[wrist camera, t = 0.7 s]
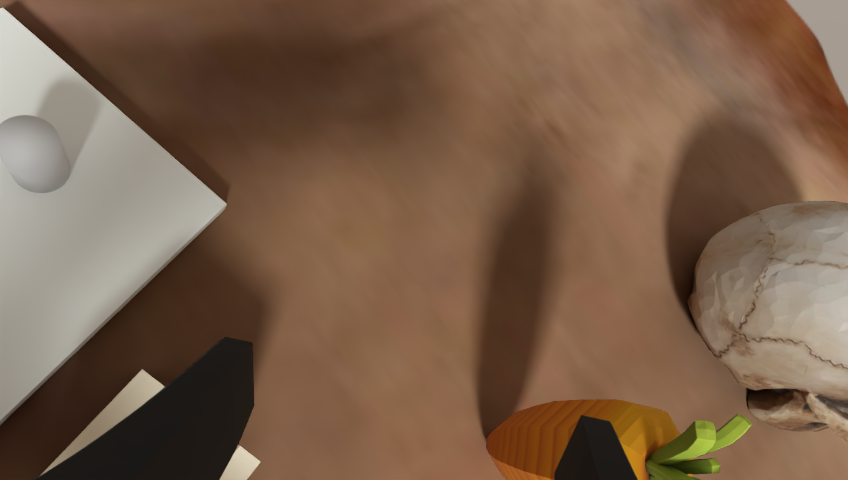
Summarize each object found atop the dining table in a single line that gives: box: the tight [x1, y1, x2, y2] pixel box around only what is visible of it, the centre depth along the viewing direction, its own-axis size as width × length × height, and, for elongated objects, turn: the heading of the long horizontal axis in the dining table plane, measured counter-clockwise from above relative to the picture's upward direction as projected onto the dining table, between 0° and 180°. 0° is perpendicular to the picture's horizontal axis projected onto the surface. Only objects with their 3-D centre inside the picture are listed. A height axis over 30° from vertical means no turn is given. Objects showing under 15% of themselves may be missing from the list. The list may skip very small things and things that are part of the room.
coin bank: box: [687, 201, 848, 442], centre depth 36 cm, size 16×17×13 cm
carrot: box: [486, 400, 752, 480], centre depth 23 cm, size 5×5×15 cm
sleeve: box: [41, 369, 260, 480], centre depth 20 cm, size 5×5×6 cm
